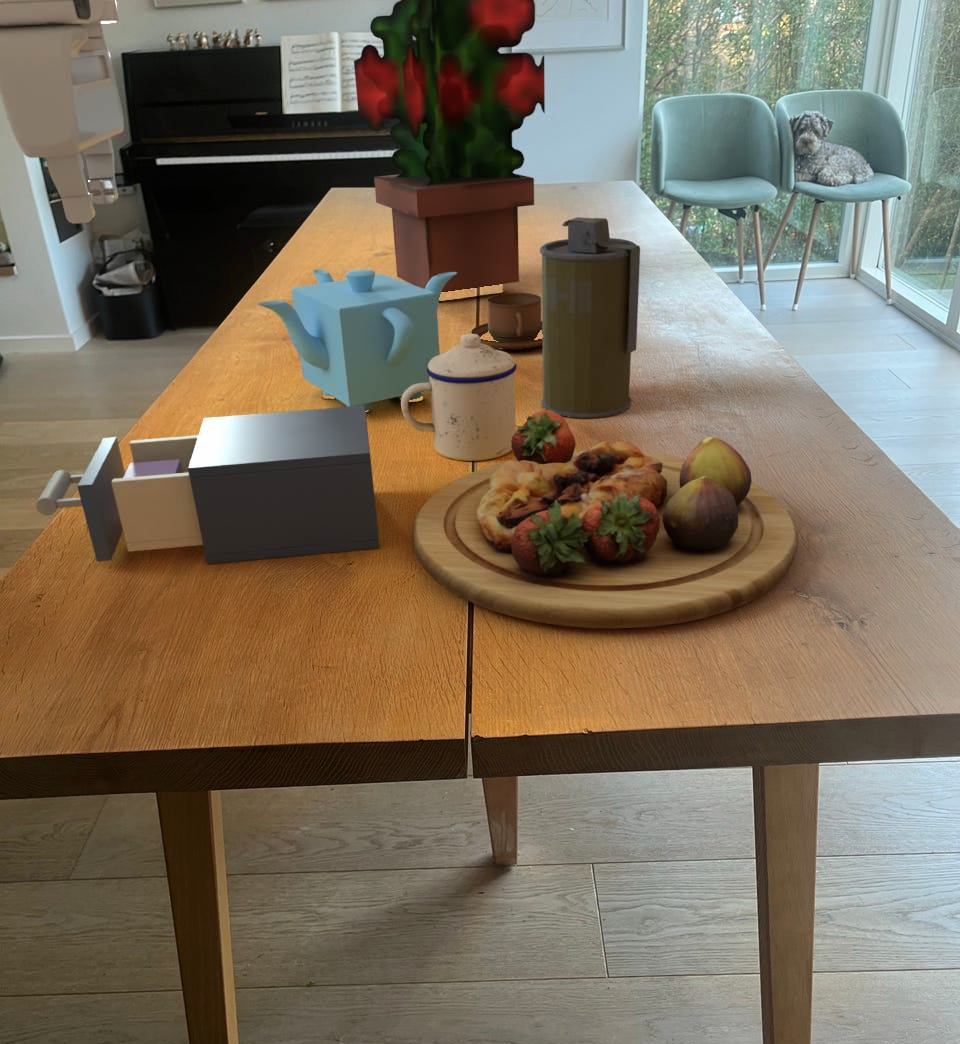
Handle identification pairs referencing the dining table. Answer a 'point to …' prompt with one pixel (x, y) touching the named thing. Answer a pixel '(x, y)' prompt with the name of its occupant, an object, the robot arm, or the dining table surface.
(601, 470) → the wooden plate
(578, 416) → the canister
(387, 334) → the teakettle
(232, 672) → the dining table surface
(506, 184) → the potted plant
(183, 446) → the drawer
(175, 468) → the purple block
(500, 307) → the cup and saucer
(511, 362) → the teacup with lid
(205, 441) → the grey drawer box
